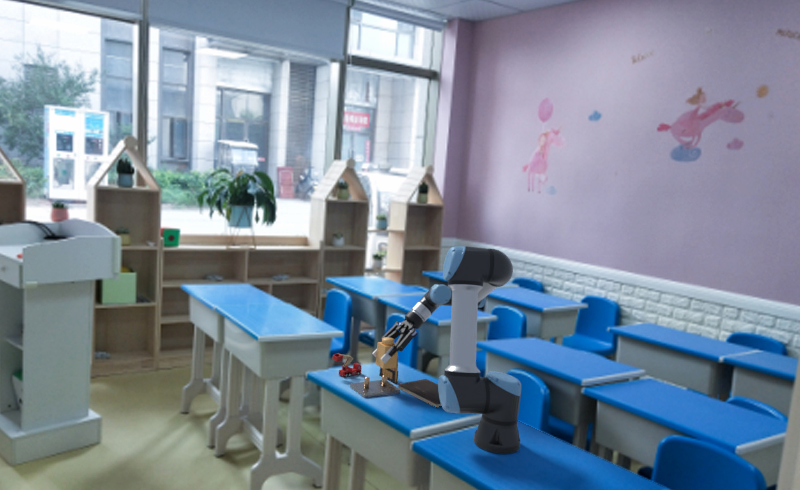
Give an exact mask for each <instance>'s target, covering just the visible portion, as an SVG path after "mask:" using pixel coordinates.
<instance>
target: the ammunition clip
mask: <svg viewBox="0 0 800 490" xmlns="http://www.w3.org/2000/svg"><path fill="white" fill-rule="evenodd" d="M398 368H399V354H397V364H396V368H388V369H382V368H381V367H379V377H381V378H382V375H387V381H388V382H390V383H391V384H398V379H399V369H398Z"/></svg>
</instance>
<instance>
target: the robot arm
mask: <svg viewBox="0 0 800 490" xmlns="http://www.w3.org/2000/svg"><path fill="white" fill-rule="evenodd" d="M442 267H443V268H442V278H443V280H444V281H446V282H447V285H445V284H442V283H441V284H438V283H435V284H433V285H432V286H431V287H430V288H429V289H428V291H427V292H425V294H424V295H423V296H422V297H421V298H420V299H419V301H418V302H416V303H415V305H414V306H413V307H412V308H411V310H409V311H408V312H407V313H406V314H405V316H404V320H403V321H401V322H399V321H395V323H394V324H393V326H392V327H391V328H390V329H388V330H387V332H386V333H385V334H384V335H382V336H381V340H382V338H384V337H389V338H393V339H394V340H396V339H397V338H398V339H397V340H396V342H394V344H395V345H392V346H393V347H394V348H393V347H391V348H390V349H389V350H388V351H387V352H386V353H385V354H384V355H383V356H382V357H381V360H382V361H383V362H384V363H386V362H387V361H388V360H389V359H390V358H391V357H392V356H393V355H394V354H395V353H396V352H397V351H398V352H403V351H404V350H405V348H406V347H407V346H408V345H409V343H411V341H412V340H413V339H414V338H416V336H417V335H418V334H419V333H418V332H417V331H416V330H419V329H420V328H421V327H422V326H423V325H424V323H425V322H427V320H428V318H430V317H431V316H432V315H433V313H434V312H435V311H436V310H437V309H438V308H439V307H441V306H446V307H448V306H449V307H451V311H450V312H451V313H450V314H451V316H450V318H451V319H450V340H449V341H450V342H449V344H450V345H449V364H448V366H447V367H445V369H444V373H443V374H442V375H440V376H439V377H438V382H437V384H438V392H439V398H440V402H441V405H442V407H441V408H442V409H443V410H444V411H445V412H446V413H452V414H453V413H454V414H457V415H458V414H477V415H479V414H481V419H480V421H479V424H478V426H477V428H476V429H475V432H474V435H473V442H474V444H475V445H476V446H477V447H478V448H480V449H482V450H484V451H487V452H489V453H494V454H501V455H502V454H505V455H506V454H507V455H508V454H509V455H510V454H514V453H517V452H518V451H520V448H521V437H520V433H519V427H518V419H519V412H520V403H521V396H522V383H521V381H520V380H519V379H518V378H516V377H515V376H514V375H510V374H508V373H505V372H501V371H495V370H493V371H492V370H491V371H488V372H486V374H485V376H481V371H480V369H479V368H478V367H477V361H476V360H477V341H478V340H477V339H478V337H477V336H478V311H479V310H478V309H479V308H483V307H484V306H485V304H486V302H487V301H486V300H487V296H488V295H490V294H491V293H492V292H493V291H495V289H497V288H499V287H500V288H501V287H503V286H505V285H506V284H508V282H509V281H511V279H512V276H513V273H514V268H513V267H514V266H513V264H512V261H511V259H510V258H509V256H507V254H505V253H504V252H502V251H501V250H499V249H495V248H486V247H475V246H466V245H460V246H459V245H458V246H456V245H455V246H452V247H450V248H449V249H448V251H447V253H446V256H445V258H444V262H443V266H442ZM376 354H377V348H376V349H375V350H374V351H373V352H372V355H373V356H374V357H375V358H376Z"/></svg>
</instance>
